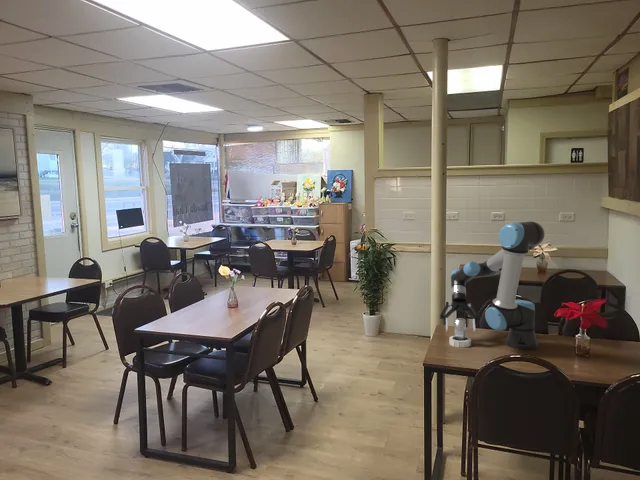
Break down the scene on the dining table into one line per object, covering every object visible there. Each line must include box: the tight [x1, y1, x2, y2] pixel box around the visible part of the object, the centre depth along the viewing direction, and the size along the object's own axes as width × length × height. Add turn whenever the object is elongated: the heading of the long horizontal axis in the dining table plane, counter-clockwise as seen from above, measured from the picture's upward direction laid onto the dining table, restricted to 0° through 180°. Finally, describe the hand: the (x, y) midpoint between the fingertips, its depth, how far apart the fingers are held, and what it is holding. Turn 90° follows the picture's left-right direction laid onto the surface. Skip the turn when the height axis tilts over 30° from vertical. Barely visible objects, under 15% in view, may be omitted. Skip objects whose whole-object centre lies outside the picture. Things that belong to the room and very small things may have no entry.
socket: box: [449, 335, 472, 348], centre depth 250 cm, size 10×10×3 cm
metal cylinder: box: [454, 317, 467, 341], centre depth 249 cm, size 6×6×12 cm
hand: (460, 330), depth 247 cm, fingers open, 13 cm apart
